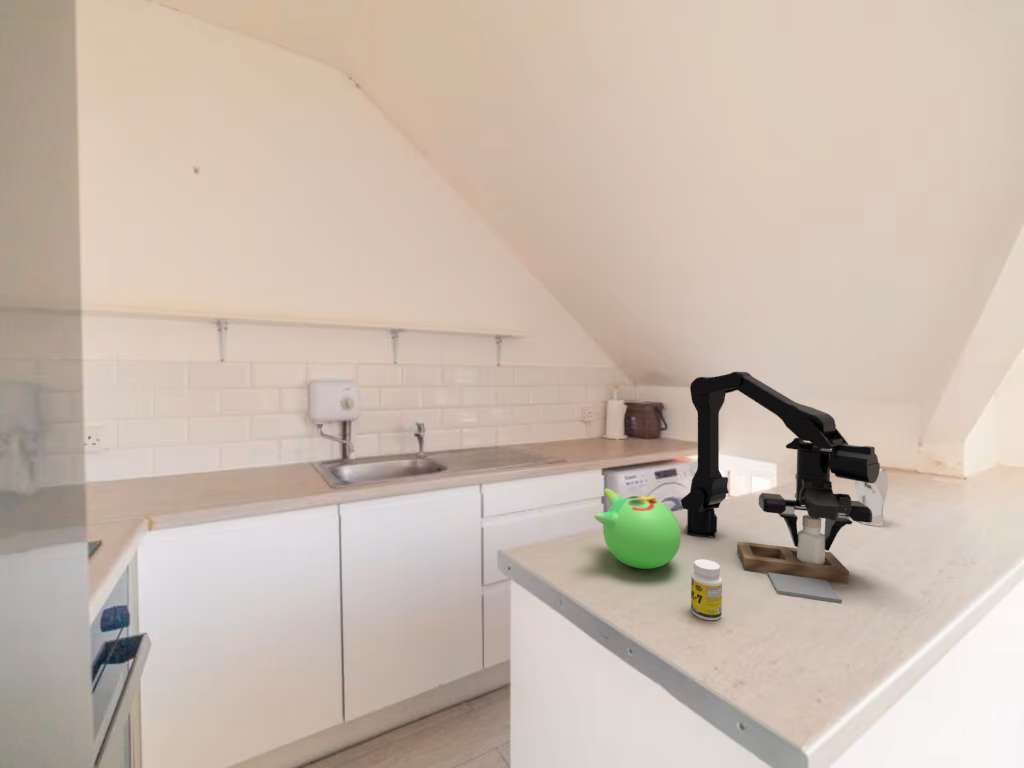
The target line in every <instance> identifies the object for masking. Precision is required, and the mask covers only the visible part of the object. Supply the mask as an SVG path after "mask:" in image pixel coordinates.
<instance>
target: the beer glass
mask: <svg viewBox="0 0 1024 768" xmlns="http://www.w3.org/2000/svg"><path fill="white" fill-rule="evenodd" d="M888 486H889V482H888V470H887V469H885V468H882V467H880V470H879V475H878V478H877V480H876V482H875V483H867V482H861V481H856V480H854V488H855V494H856V501H859V502H861V503H862V504H864V505H866V506H867V507H868V508H870V509H871V511H872V522H860V521H856V522H858V523H859V524H861V525H862V524H863V525H867V526H870V527H871V526H872V527H884V526H885V525H886V523H885V519H884V506H885V502H886V498H887V493H888Z"/></svg>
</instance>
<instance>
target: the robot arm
mask: <svg viewBox="0 0 1024 768" xmlns="http://www.w3.org/2000/svg"><path fill="white" fill-rule="evenodd" d="M689 390H690V392H689V393H690V397H691V403H692V404H693V407H694V408H695V410H696V411H697V467H696V471H695V473H694V475H693V476H692V477H693V478H692V480H691V484H690V490H689V492H688V493H687V494H686V495H685V496H683V497H682V498H681V499H680V502H681V503H680V504H681V507H682V509H683V510H687V511H686V514H687V515H686V525H685V526H686V527H685V528H686V533H687V535H690V536H691V535H692V536H699V537H709V538H716V534H717V532H718V530H717V529H718V516H717V514H716V512H715V509H719V508H720V505H721V504H722V502H723V501H724V500H726V497H727V494H729V492H730V491H729V489H728V483H729V477H727V476H723V475H722V473H721V472H720V469H719V468H720V467H719V466H720V464H719V462H720V461H719V458H720V457H719V455H720V453H719V452H720V451H719V448H720V446H719V443H720V441H719V438H720V435H719V432H720V429H719V425H720V424H719V423H720V422H719V421H720V420H719V415H720V411H721V409H722V407H723V405H724V403H725V398H726V394H729V393H730V394H731V393H734V392H736V391H738V392H740V393H741V394H743V395H745V396H746V397H747V398H749V399H751V400H752V401H754V402H755V403H756V404H758V405H759V406H761V407H763V408H765V410H768V411H769V412H771V413H772V414H774V415H775V416H777V417H778V418H779V419H780V420H781V421H782V422H783V424H784V426H785V427H786V428H787V429H788V430H790V431H791V432H792V434H794V435H795V436H796V437H794V438H793V440H792V441H790V442H789V443H787V444H785V448H786V449H790V450H796V474H795V480H796V483H795V485H796V486H795V493H794V498H795V499H785V498H784V497H783V496H782V495H781V494H777V493H769V492H768V493H766V492H761V493H760V494H759V496H758V506H759V507H760V508H761V510H762V511H763V512H765V513H772V514H778V515H779V517H781V518H783V520H784V522H785V523H786V526H787V529H788V531H789V534H790V535H789V536H790V537H791V541H792V542H793V546H794V548H797V547H798V523H797V522H798V516H797V515H796V514H795V510H797V511H806V512H807V515H809V516H810V517H812V518H817V519H818V518H821V519H825V520H824V534H823V535H825V551H826V552H830V551H829V550H830V549H831V547H832V545H833V543H834V541H835V539H836V536H837V535H838V533H839V532H840V531H841V529H842V528H844V527H845V526H846V525H852V523H853V521H854V522H857V521H860V522H872V511H871V509H870V508H868V507H867V506H866V505H864V504H862V503H861V502H859V501H858V500H852V498H851V496H850V494H849V493H848V494H847V493H834V491H833V484H832V483H833V482H832V481H831V474H833V475H834V476H835V477H836V478H838V479H839V478H840V479H844V480H851V481H855V480H856V481H861V482H867V483H875V482H876V480H877V478H878V475H879V470H880V468H881V467H880V466H881V464H880V462H879V460H878V459H879V458H878V455H877V454H876V452H875V451H876V448H875V447H874V446H869V445H864V446H863V445H862V446H861V445H853V444H849V443H848V442H847V440H846V439H845V437H844V436H843V435H842V434H841V431H839V429H837V427H836V425H837V424H836V422H835V421H836V420H835V418H834V417H833V416H832V415H831V414H829V413H827V412H824V411H822V410H820V409H817V408H815V407H812V406H807V405H804V404H803V403H802V404H801V403H798V402H796V401H794V400H792V399H791V398H789V397H787V396H785V395H783V394H782V393H781V392H778V391H777V390H776V389H774V388H772V387H771V386H769V385H767V384H765V383H764V382H762V381H760V380H759V379H757V378H755V377H754V376H752V374H751V373H749V372H747V371H732V372H730V373H728V374H727V373H726V374H723V375H716V376H699V377H696V378H695V379H694V380H693V381H691V383H690V386H689ZM850 519H851V520H850Z"/></svg>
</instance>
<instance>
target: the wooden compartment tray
mask: <svg viewBox="0 0 1024 768" xmlns="http://www.w3.org/2000/svg"><path fill="white" fill-rule="evenodd" d="M736 543H737V549H736V553H737V555H738V557H739V561H740V562H741V565H742V567H743V570H744V571H747V572H748V571H749V572H756V573H761V574H762V573H763V574H768V572H769V573H777V574H784V575H791V576H799V577H806V578H813V579H821V580H827V582H828V583H837V584H843V585H849V584H850V571H849V570H848V568H847V567H846V566H845V565H844V564H843V563H842V562H841V561H840V560H839V559H838V558H837V557H836V556H835V555H834V554H833V553H832V552H831V551H825V563H824V564H815V563H807V562H799V561H798V560H797V547H791V546H790V547H789V546H788V547H787V546H780V545H773V544H763V543H756V542H755V543H754V542H746V541H739V540H738V541H737V542H736Z"/></svg>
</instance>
